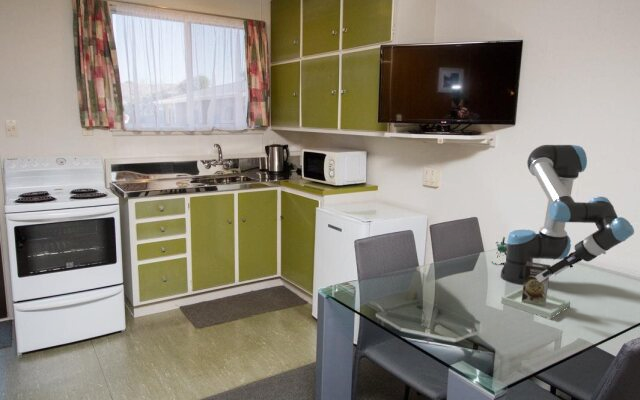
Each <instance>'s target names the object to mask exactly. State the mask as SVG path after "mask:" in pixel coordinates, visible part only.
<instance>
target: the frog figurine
mask: <svg viewBox="0 0 640 400" xmlns="http://www.w3.org/2000/svg"><path fill="white" fill-rule="evenodd" d="M505 239H506V237H505V236H503V237H502V240H501V242H500V243H499V241H496V242H495V244H496V246H497V252H496V254H499V255H497V258H498V256H499V257H500V255H502V254H503V255H504V254H505V255H506V254H507V243H506V242H505ZM498 252H499V253H498Z"/></svg>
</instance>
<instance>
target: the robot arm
mask: <svg viewBox="0 0 640 400" xmlns="http://www.w3.org/2000/svg"><path fill="white" fill-rule="evenodd" d="M526 163H527V168H528V171H529V172H530V174H531V175H532V176H534V177H535V178H536V180H537V182H538V183H539V185H540V187H541V189H542V191H543V192H544V194H545V196H546V198H547V199H548V201H547V204H546V205H547V206H546V212H545V218H544V223H543V226H542V227H540V228H539V232H538V233H536V231H534V230H530V229H515V230H513V231H510V232H509V233H508V237H507V241H506V242H507V243H506V244H507V245H506V246H507V251H506V252H507V254H506V262H505V263H504V264H503V267H502V268H501V271H500V278H501V279H502V280H504V281H506V282H509V283H513V284H517V285H518V284H519V285H523V284H524V276H525V267H526V263H527V261H528V262H533V261H534V259H538V260H539V259H540V260H541V259H542V260H543V259H545V260H560V261H558V262H556V263H554V264H553V265H550V267H548V266H547V269H546V270H545V271H543V272H541V273H540V274H538V275H537V276H535V277H536V278H537V280H538V281H539V282H541V281H543V280H544V279H546V278H548V277H549V278H550V277H551V276H552V275H554V276H556V275H558V274H560V273H562V272H563V271H565V270H567V269H568V268H570V269H572V268H573V267H574V265H576V264H578V263H579V262H581V261H585V262H591V261H592V260H595V258H597V257H598V256H601V255H602V254H603V255H606V254H607V251H609V250H610V249H612V248H614V247H615V246H617V245H619V244H621V243H622V242H625V241H626V240H627V239H629V238H630V237H632V236H633V235H634V233H635V229H634V227H633V225H632V224H631V222H629V220H628V219H626V217H622V216H618V215H617V212H616V210H615V208H614V205H613V204H612V202H611V201H610V199H608V197H605V196H598V197H592V198H591V199H590V200H589V201H588V202H577V201H575V200H574V199H573V197H572V190H573V185H574V182H575V180H576V179H578V178H579V173H582V172H584V171H586V168H587V165H588V159H587V154H586V151H585V149H584V148H583V147H582V146H580V145H575V144H542V145H540V146H538V147H536V148H534V149H533V150H532V151H531V152H530V154H529V156H528V158H527V161H526ZM566 223H583V224H584V223H585V224H587V223H589V224H595V226H596V227H597V230H596V231H594V232H593V233H591V234H589V235H588V236H586V237H585V238H584V239H583V240H581V241H579V242H578V243H576V244H575V245H574V250H575V251H573V252H570V251H571V247H572V244H571V238H570V236H569V235H568V232H567V231H566V230H565V228H566ZM533 263H534V262H533Z"/></svg>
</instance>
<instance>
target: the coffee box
mask: <svg viewBox="0 0 640 400" xmlns="http://www.w3.org/2000/svg"><path fill="white" fill-rule="evenodd" d="M547 266H548V267H551V265H550V264H546V263H539V262H528V261H527V263H526V267H525V276H524V284H522V285H523V286H522V287H523V293H522V301H521V302H524V303H529V304H534V305H539V306H544V307H545V305H546V298H547V295H548V291H549V290H548V289H549V280H550V276H549V277H548V278H546V279H544V280H543V281H541V282H539V281H538V280H537V278H536V277H535V276H537V275H538V274H540V273H541V272H543V271H545V270H546V269H547Z"/></svg>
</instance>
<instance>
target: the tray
mask: <svg viewBox="0 0 640 400" xmlns="http://www.w3.org/2000/svg"><path fill="white" fill-rule="evenodd" d="M522 293H523V286H522V287H520V288H518V289H516V290H514V291H512V292H510V293H507V294H506V295H503V296H502V297H501V301H500V303H501V304H503V305H505V306H506V305H507V306H509V307H512V308H515V309H518V310H521V311H524V312H526V311H527V313H529V312H530V314H532V313H534V314H533V315H535V314H537V315H536V316H538V315H540V316H539V317H541V316H543V317H542V318H544V317H546V318H545V319H547V318H549V319H548V320H551V318H552V317H553V316H555V315H556V314H557V313H559V312H561V311H563V310H564V309H566V308H568V307H570V308H571V301H569V300H567V299H563V298H561V297H560V298H559V297H556V296H554V295H550V294H547V298H546V305H545V307H544V306H539V305H534V304H529V303H524V302H521V301H522ZM568 309H569V308H568ZM566 310H567V309H566ZM563 312H564V311H563ZM561 313H562V312H561ZM555 317H556V316H555ZM553 318H554V317H553ZM553 318H552V319H553Z"/></svg>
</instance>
